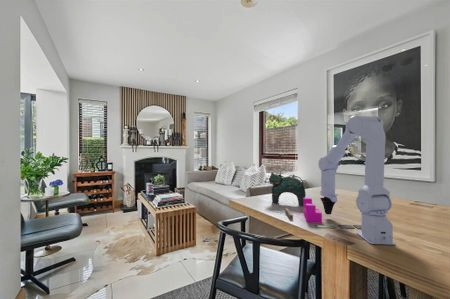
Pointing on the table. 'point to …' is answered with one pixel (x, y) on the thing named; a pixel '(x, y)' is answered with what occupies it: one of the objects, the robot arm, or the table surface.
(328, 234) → the table surface
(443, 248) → the table surface
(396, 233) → the table surface
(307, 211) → the toy block
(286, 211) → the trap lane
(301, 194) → the ceramic cat
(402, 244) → the table surface
